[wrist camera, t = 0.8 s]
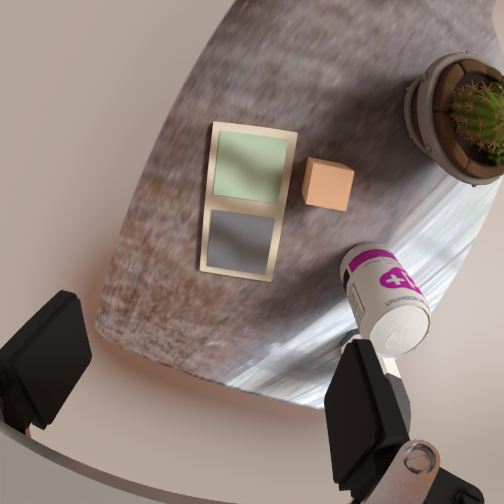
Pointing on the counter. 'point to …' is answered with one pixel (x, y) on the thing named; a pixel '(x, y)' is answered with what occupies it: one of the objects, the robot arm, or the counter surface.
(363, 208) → the counter surface
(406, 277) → the supplement can
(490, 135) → the flowerpot
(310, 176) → the block
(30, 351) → the robot arm
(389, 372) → the wine bottle
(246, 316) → the counter surface
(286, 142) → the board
